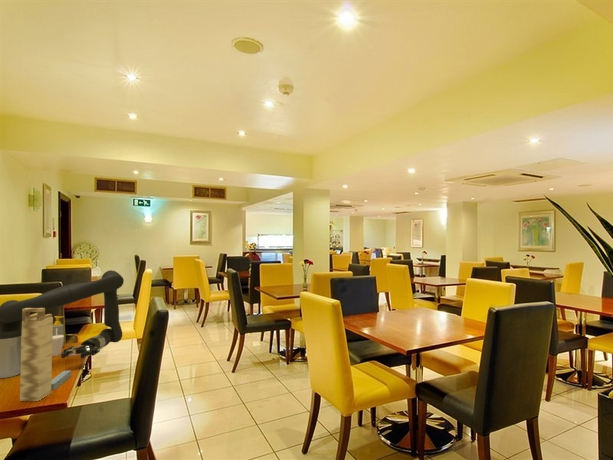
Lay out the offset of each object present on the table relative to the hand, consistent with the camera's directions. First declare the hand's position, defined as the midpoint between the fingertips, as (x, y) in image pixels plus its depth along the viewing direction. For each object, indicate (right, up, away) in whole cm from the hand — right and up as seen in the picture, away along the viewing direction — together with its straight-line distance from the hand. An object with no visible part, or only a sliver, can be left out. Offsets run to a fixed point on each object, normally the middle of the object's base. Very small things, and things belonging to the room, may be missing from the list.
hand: (71, 356), depth 153 cm
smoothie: (-27, -9, +27) cm, 39 cm away
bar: (0, -9, -9) cm, 12 cm away
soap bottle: (-35, -10, +37) cm, 52 cm away
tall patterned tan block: (+1, -8, -22) cm, 23 cm away
